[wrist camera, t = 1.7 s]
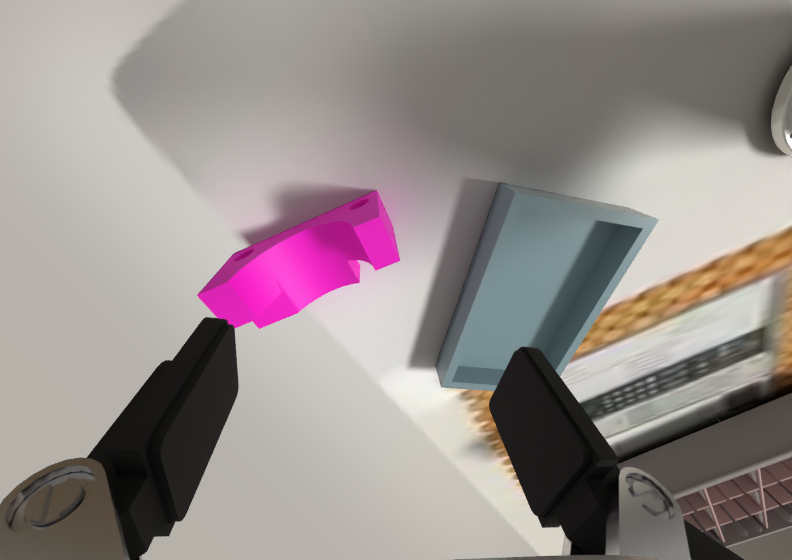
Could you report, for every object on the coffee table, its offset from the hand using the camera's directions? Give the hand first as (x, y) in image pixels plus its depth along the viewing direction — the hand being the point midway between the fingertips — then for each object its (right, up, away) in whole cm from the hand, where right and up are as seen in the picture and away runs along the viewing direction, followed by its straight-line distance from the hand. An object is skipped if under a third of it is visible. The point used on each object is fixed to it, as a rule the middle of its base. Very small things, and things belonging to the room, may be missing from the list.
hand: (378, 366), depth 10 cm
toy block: (-7, +6, +20) cm, 22 cm away
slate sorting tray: (+15, +1, +24) cm, 28 cm away
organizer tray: (+59, -31, +48) cm, 82 cm away
